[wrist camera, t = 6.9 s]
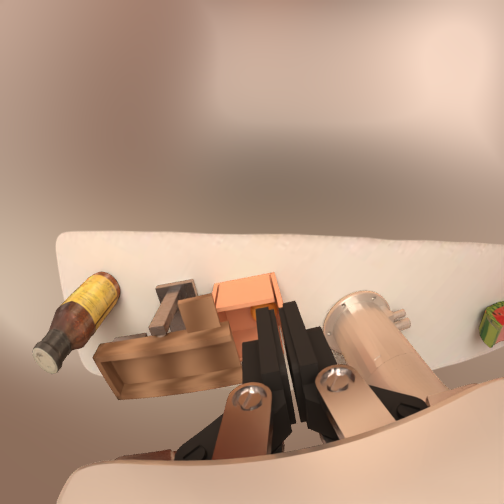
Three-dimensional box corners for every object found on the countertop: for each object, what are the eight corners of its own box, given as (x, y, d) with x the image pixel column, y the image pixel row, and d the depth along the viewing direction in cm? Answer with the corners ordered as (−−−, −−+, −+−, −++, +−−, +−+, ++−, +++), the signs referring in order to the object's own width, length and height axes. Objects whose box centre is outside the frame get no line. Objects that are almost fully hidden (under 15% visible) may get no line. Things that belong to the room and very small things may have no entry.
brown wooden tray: (219, 283, 34) (221, 303, 28) (240, 356, 37) (244, 383, 32) (93, 309, 32) (78, 331, 27) (126, 375, 36) (118, 400, 31)
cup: (274, 272, 42) (288, 321, 28) (283, 322, 45) (297, 381, 31) (214, 283, 42) (203, 336, 29) (228, 332, 45) (224, 393, 32)
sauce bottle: (90, 266, 41) (18, 327, 22) (122, 275, 41) (58, 346, 22) (90, 300, 42) (29, 368, 24) (121, 309, 43) (68, 387, 24)
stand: (193, 278, 42) (177, 319, 30) (213, 342, 45) (206, 391, 34) (157, 285, 42) (132, 325, 31) (180, 346, 46) (166, 393, 34)
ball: (246, 295, 42) (271, 289, 42) (251, 318, 43) (276, 311, 43) (249, 308, 38) (277, 301, 38) (255, 331, 39) (281, 324, 40)
